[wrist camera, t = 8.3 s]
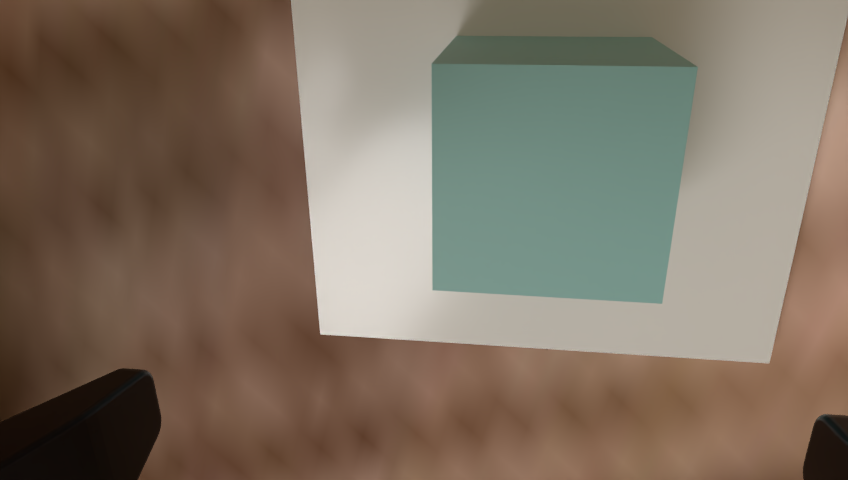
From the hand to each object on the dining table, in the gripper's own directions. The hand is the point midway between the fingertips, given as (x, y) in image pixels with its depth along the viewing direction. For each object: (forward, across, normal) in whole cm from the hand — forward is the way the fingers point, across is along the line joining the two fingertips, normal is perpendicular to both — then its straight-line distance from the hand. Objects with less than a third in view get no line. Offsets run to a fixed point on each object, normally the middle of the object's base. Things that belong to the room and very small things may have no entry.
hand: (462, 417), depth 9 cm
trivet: (+12, -2, -1) cm, 12 cm away
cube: (+11, -1, -1) cm, 11 cm away
